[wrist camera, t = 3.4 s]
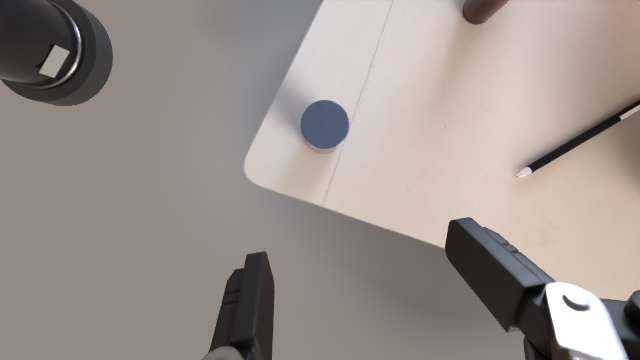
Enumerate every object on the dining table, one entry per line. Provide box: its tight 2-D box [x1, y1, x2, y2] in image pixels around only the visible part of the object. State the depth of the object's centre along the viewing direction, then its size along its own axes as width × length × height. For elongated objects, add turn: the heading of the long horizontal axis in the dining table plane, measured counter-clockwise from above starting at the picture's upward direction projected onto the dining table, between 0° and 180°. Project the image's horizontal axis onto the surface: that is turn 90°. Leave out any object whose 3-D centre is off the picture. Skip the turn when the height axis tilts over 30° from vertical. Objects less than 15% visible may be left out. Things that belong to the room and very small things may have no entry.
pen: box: [515, 100, 640, 178], centre depth 29 cm, size 1×19×1 cm, turn 121°
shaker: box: [301, 100, 349, 154], centre depth 25 cm, size 4×4×9 cm
